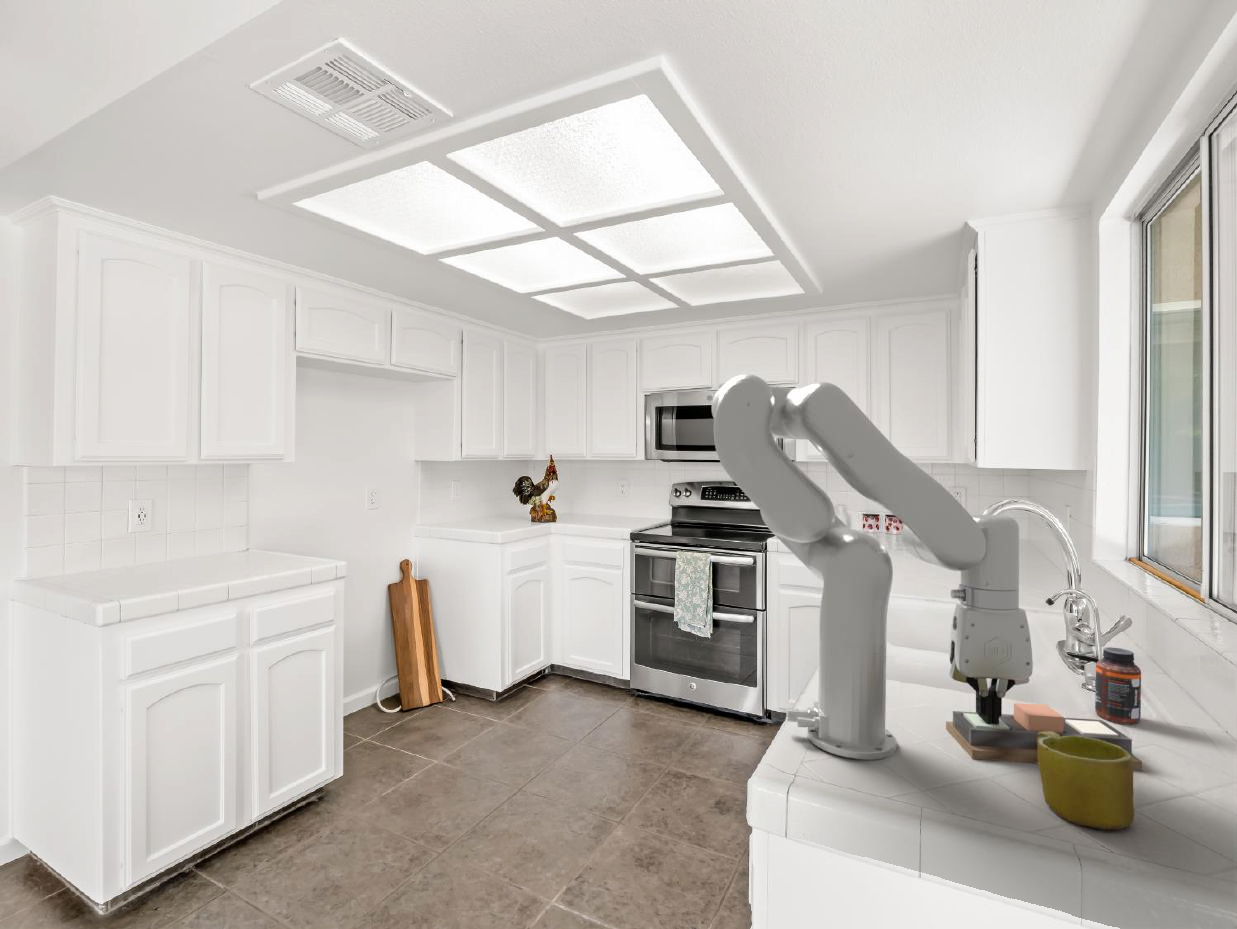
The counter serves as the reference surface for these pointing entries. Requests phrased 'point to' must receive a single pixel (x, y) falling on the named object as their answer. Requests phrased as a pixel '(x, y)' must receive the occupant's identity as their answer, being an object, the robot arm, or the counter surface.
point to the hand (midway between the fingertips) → (988, 720)
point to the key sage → (980, 723)
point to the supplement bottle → (1118, 687)
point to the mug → (1086, 780)
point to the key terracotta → (1038, 718)
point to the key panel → (1018, 739)
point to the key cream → (1090, 728)
